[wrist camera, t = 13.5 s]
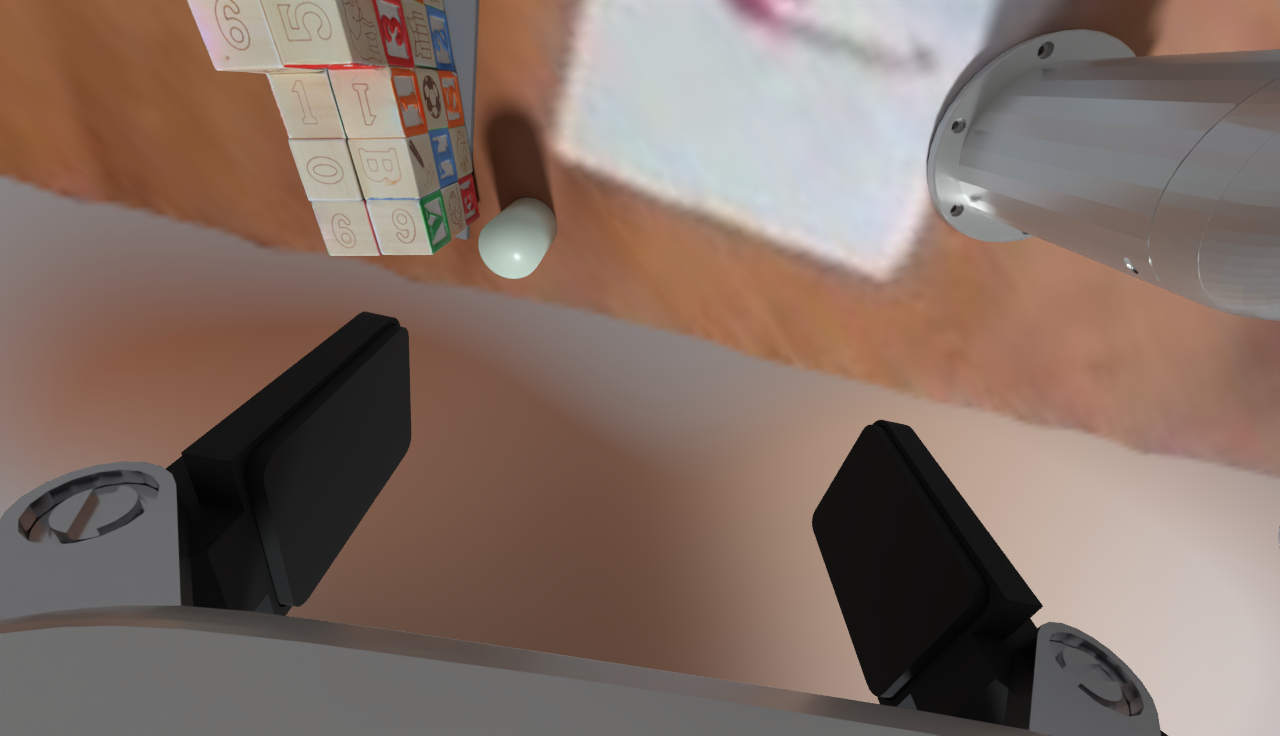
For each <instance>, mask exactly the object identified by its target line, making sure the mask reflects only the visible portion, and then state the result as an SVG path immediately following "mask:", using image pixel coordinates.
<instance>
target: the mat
mask: <svg viewBox="0 0 1280 736" xmlns="http://www.w3.org/2000/svg"><path fill="white" fill-rule="evenodd" d="M443 5H444V13H445V16H446V20H447V26H448V32H449V38H450V44H451V50H452V56H453V61H454V68H455V73H456V74H457V78H458V85H459V90H460V96H461V103H462V109H463V115H464V126H465V128H466V134H467V139H468V145H469V151H470V157H471V163H472V158H473V134H474V110H475V86H476V62H477V38H478V14H479V0H443ZM471 174H472V173H471ZM469 230H470V225H468V226H466V228H465V229H464V230H463V231H461V232H460V233H459V234H457V235H456V236H454V237H457V238H461V239H465V240H467V239H468V238H469Z"/></svg>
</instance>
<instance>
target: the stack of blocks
mask: <svg viewBox="0 0 1280 736" xmlns="http://www.w3.org/2000/svg"><path fill="white" fill-rule="evenodd" d="M187 1H188V4H189V6H190V9H191V11H192V14H193V16H194V18H195V21H196V23H197V26H198V28H199V31H200V33H201V36H202V38H203V41H204V43H205V45H206V48H207V50H208V52H209V55H210V57H211V60H212V62H213V65H214V67H215V68H216V70H217V71H238V72H253V73H266V75H267V78H268V81H269V84H270V87H271V90H272V93H273V95H274V98H275V101H276V104H277V107H278V110H279V112H280V115H281V118H282V121H283V124H284V127H285V130H286V132H287V135H288V137H289V140H288V142H289V146H290V148H291V151H292V154H293V157H294V160H295V163H296V166H297V169H298V171H299V174H300V177H301V180H302V183H303V186H304V188H305V191H306V194H307V197H308V199H309V201H311V202H312V207H313V210H314V213H315V216H316V219H317V222H318V224H319V227H320V230H321V234H322V236H323V239H324V242H325V245H326V248H327V251H328V253H329V255H330V256H379V255H382V254H384V255H432V254H434V253H436V252H437V251H438V250H440V249H441V248H442V247H443V246H445V245H446V244H447V243H449V242H450V241H451V238H453V237H454V236H456V235H457V234H459V233H460V232H461V231H463V230H464V229H465V228H466V226H468V225H470V224H471V223H473V222H474V221H475V220H477V219H478V218H479V217H480V214H479V209H478V204H477V198H476V193H475V187H474V182H473V176H472V174H471V173H472V171H473V169H472V163H471V157H470V151H469V145H468V139H467V134H466V128H465V126H464V115H463V109H462V103H461V96H460V90H459V85H458V78H457V74H456V73H455V68H454V61H453V56H452V50H451V44H450V38H449V32H448V26H447V20H446V16H445V13H444V5H443V0H187Z"/></svg>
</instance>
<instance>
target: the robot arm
mask: <svg viewBox="0 0 1280 736" xmlns="http://www.w3.org/2000/svg"><path fill="white" fill-rule="evenodd" d="M1038 50H1039V53H1038ZM954 122H955V126H954V127H953V128H952V125H953V123H954ZM927 170H928V188H929V192H930V197H931V200H932V202H933V204H934V206H935V208H936V210H937V212H938V214H939V215H940V216H941V217H942V218H943V219H944V221H945V222H946V223H947V224H948V225H950V226H951V227H953V228H954V229H956V230H957V231H958V232H960V233H963V234H965V235H967V236H969V237H971V238H974V239H978V240H982V241H986V242H1011V241H1018V240H1024V239H1027V238H1030V237H1033V236H1035V237H1038V238H1040V239H1043V240H1045V241H1048V242H1050V243H1052V244H1055V245H1057V246H1060V247H1062V248H1065V249H1067V250H1070V251H1072V252H1075V253H1077V254H1079V255H1082V256H1084V257H1087V258H1089V259H1092V260H1094V261H1097V262H1099V263H1102V264H1104V265H1107V266H1109V267H1111V268H1114V269H1116V270H1119V271H1121V272H1124V273H1126V274H1129V275H1131V276H1134V277H1136V278H1138V279H1141V280H1143V281H1146V282H1148V283H1151V284H1153V285H1156V286H1158V287H1161V288H1163V289H1165V290H1168V291H1170V292H1173V293H1175V294H1178V295H1180V296H1182V297H1184V298H1187V299H1189V300H1192V301H1194V302H1197V303H1199V304H1202V305H1204V306H1207V307H1209V308H1212V309H1215V310H1219V311H1222V312H1225V313H1229V314H1233V315H1237V316H1243V317H1247V318H1254V319H1263V320H1276V321H1280V49H1275V50H1256V51H1237V52H1218V53H1199V54H1180V55H1161V56H1143V57H1136V55H1135V53H1134V52H1133V51H1132V50H1131V49H1130V48H1129V47H1128V46H1127V45H1126V44H1125V43H1123V42H1122V41H1121V40H1120V39H1118V38H1115V37H1113V36H1111V35H1109V34H1107V33H1105V32H1100V31H1094V30H1087V29H1078V30H1064V31H1058V32H1053V33H1047V34H1042V35H1039V36H1037V37H1034V38H1032V39H1029V40H1026V41H1024V42H1021V43H1019V44H1017V45H1016V46H1014V47H1012V48H1010V49H1009V50H1007V51H1005V52H1003V53H1002V54H1000V55H999V56H997V57H996V58H995V59H993V60H992V61H991V62H990V63H988V64H987V65H986V66H984V67H983V68H982V69H981V70H980V71H979V72H978V73H977V74H976V75H975V76H974V77H973V78H972V79H971V80H970V81H969V82H968V83H967V84H966V85H965V86H964V87H963V88H962V90H961V91H960V92H959V94H958V95H957V96H956V98H955V99H954V100H953V102H952V103H951V105H950V106H949V107H948V109H947V111H946V113H945V115H944V117H943V119H942V120H941V122H940V124H939V126H938V128H937V131H936V134H935V137H934V140H933V142H932V145H931V149H930V155H929V160H928V166H927ZM952 207H953V209H952V210H951V208H952ZM410 407H411V406H410V369H409V335H408V331H407V329H406V328H404V327H400V324H399V321H398V320H397V319H396V318H393V317H388V316H384V315H379V314H374V313H369V312H362V313H360V314H359V315H357V316H356V317H355V318H353V319H352V320H351V321H350V322H348V323H347V324H346V325H344V326H343V327H342V328H341V329H339V330H338V331H337V332H335V333H334V334H333V335H332V336H330V337H329V338H328V339H326V340H325V341H324V342H323V343H321V344H320V345H319V346H318V347H316V348H315V349H314V350H313V351H311V352H310V353H308V354H307V355H306V356H305V357H303V358H302V359H301V360H300V361H298V362H297V363H296V364H294V365H293V366H292V367H290V368H289V369H288V370H287V371H285V372H284V373H283V374H282V375H280V376H279V377H278V378H276V379H275V380H274V381H273V382H272V383H270V384H269V385H267V386H266V387H265V388H263V389H262V390H261V391H260V392H259V393H257V394H256V395H255V396H253V397H252V398H251V399H249V400H248V401H247V402H246V403H244V404H243V405H242V406H241V407H239V408H238V409H237V410H235V411H234V412H233V413H231V414H230V415H229V416H228V417H226V418H225V419H224V420H222V421H221V422H220V423H219V424H218V425H216V426H215V427H213V428H212V429H211V430H210V431H208V432H207V433H206V434H204V435H203V436H202V437H201V438H199V439H198V440H197V441H195V442H194V443H193V444H192V445H191V446H189V447H188V448H187V449H185V450H184V451H183V452H182V456H181V457H180V458H179V459H178V460H176V461H175V462H174V463H172V464H171V465H170V466H169V467H167V468H166V469H164V468H163V467H161V466H158V465H154V464H150V463H146V462H116V463H109V464H102V465H96V466H92V467H89V468H85V469H81V470H77V471H74V472H70V473H68V474H66V475H63V476H61V477H58V478H56V479H53V480H51V481H49V482H46V483H44V484H42V485H41V486H39V487H37V488H36V489H34V490H32V491H30V492H29V493H27V494H25V495H24V496H22V497H21V498H20V499H19V500H18V501H16V502H15V503H14V504H13V505H12V506H11V507H10V508H8V509H7V510H6V511H5V512H4V514H3V516H2V517H1V519H0V736H1168V735H1166V734H1165V733H1164V732H1162V731H1161V730H1160V725H1159V719H1158V713H1157V710H1156V707H1155V704H1154V702H1153V699H1152V697H1151V696H1150V694H1149V692H1148V691H1147V689H1146V688H1145V686H1144V685H1143V683H1142V682H1141V681H1140V680H1139V678H1138V677H1137V676H1136V675H1135V674H1134V673H1133V672H1132V670H1131V669H1130V668H1129V667H1128V666H1127V665H1126V664H1125V663H1124V662H1123V661H1122V660H1121V659H1120V658H1118V657H1117V656H1116V655H1115V654H1114V653H1113V652H1112V651H1111V650H1109V649H1108V648H1107V647H1105V646H1104V645H1102V644H1101V643H1100V642H1098V641H1097V640H1096V639H1094V638H1093V637H1091V636H1089V635H1087V634H1085V633H1084V632H1082V631H1080V630H1078V629H1076V628H1073V627H1071V626H1068V625H1065V624H1062V623H1055V622H1048V623H1046V624H1043V625H1041V626H1040V627H1039V628H1038V629H1037V627H1036V626H1035V625H1034V623H1033V622H1032V620H1031V619H1030V618H1031V617H1032V616H1033V615H1034V614H1035V613H1036V612H1037V611H1038V610H1039V609H1041V607H1043V606H1042V604H1041V603H1040V601H1039V600H1038V599H1037V597H1036V596H1035V595H1034V594H1033V592H1032V591H1031V589H1030V588H1029V587H1028V585H1027V584H1026V582H1025V581H1024V580H1023V578H1022V577H1021V576H1020V574H1019V573H1018V572H1017V570H1016V569H1015V568H1014V566H1013V565H1012V564H1011V562H1010V561H1009V559H1008V558H1007V557H1006V555H1005V554H1004V553H1003V551H1002V550H1001V549H1000V547H999V546H998V545H997V543H996V542H995V540H994V539H993V538H992V536H991V535H990V534H989V532H988V531H987V530H986V528H985V527H984V526H983V524H982V523H981V522H980V520H979V519H978V517H977V516H976V515H975V513H974V512H973V511H972V509H971V508H970V507H969V505H968V504H967V502H966V501H965V500H964V498H963V497H962V496H961V495H960V493H959V492H958V490H957V489H956V488H955V486H954V485H953V484H952V482H951V481H950V479H949V478H948V477H947V475H946V474H945V473H944V471H943V470H942V469H941V467H940V466H939V465H938V463H937V462H936V461H935V459H934V458H933V457H932V455H931V454H930V452H929V451H928V450H927V448H926V447H925V446H924V444H923V443H922V441H921V440H920V439H919V437H918V436H917V435H916V433H915V432H914V431H913V429H912V428H911V427H910V426H907V425H904V424H899V423H894V422H889V421H885V420H878V421H876V422H875V423H873V425H868V426H866V427H865V428H864V430H863V431H862V433H861V434H860V436H859V438H858V440H857V441H856V443H855V444H854V446H853V448H852V449H851V451H850V453H849V454H848V456H847V458H846V459H845V461H844V463H843V465H842V466H841V468H840V470H839V471H838V473H837V475H836V476H835V478H834V480H833V481H832V483H831V485H830V486H829V488H828V490H827V491H826V493H825V495H824V496H823V498H822V500H821V502H820V503H819V505H818V507H817V508H816V510H815V512H814V514H813V518H812V527H813V531H814V534H815V537H816V540H817V542H818V545H819V548H820V551H821V554H822V557H823V560H824V562H825V565H826V568H827V571H828V574H829V577H830V580H831V582H832V585H833V588H834V591H835V594H836V597H837V600H838V602H839V605H840V608H841V611H842V614H843V617H844V620H845V623H846V625H847V628H848V631H849V634H850V637H851V639H852V643H853V645H854V648H855V651H856V654H857V657H858V660H859V663H860V665H861V668H862V671H863V674H864V677H865V680H866V683H867V685H868V687H869V689H870V691H871V692H872V693H873V694H874V695H875V696H877V697H878V700H879V703H880V704H874V703H867V702H861V701H855V700H848V699H842V698H836V697H830V696H823V695H817V694H810V693H805V692H798V691H792V690H786V689H779V688H773V687H766V686H760V685H754V684H747V683H741V682H734V681H728V680H721V679H714V678H708V677H702V676H694V675H689V674H682V673H676V672H669V671H663V670H656V669H650V668H643V667H636V666H630V665H623V664H617V663H610V662H603V661H597V660H590V659H584V658H577V657H571V656H564V655H557V654H551V653H544V652H537V651H530V650H523V649H517V648H510V647H503V646H496V645H490V644H483V643H476V642H469V641H463V640H456V639H449V638H442V637H435V636H428V635H422V634H415V633H408V632H401V631H395V630H388V629H381V628H374V627H366V626H359V625H350V624H343V623H336V622H328V621H320V620H312V619H304V618H297V617H289V616H286V614H287V613H288V611H289V610H290V608H291V607H292V606H296V607H299V606H301V605H302V604H304V603H305V602H306V601H307V599H308V598H309V597H310V595H311V594H312V592H313V591H314V589H315V588H316V586H317V585H318V583H319V582H320V580H321V579H322V577H323V576H324V575H325V573H326V572H327V570H328V569H329V567H330V566H331V564H332V563H333V561H334V559H335V558H336V557H337V555H338V554H339V552H340V551H341V549H342V548H343V546H344V545H345V543H346V542H347V540H348V539H349V537H350V536H351V534H352V533H353V532H354V530H355V529H356V527H357V526H358V524H359V523H360V521H361V520H362V518H363V516H364V515H365V514H366V512H367V511H368V509H369V508H370V506H371V505H372V503H373V502H374V500H375V499H376V497H377V496H378V494H379V493H380V491H381V490H382V488H383V487H384V486H385V484H386V482H387V481H388V480H389V478H390V477H391V475H392V474H393V472H394V471H395V469H396V468H397V466H398V465H399V463H400V462H401V460H402V459H403V457H404V456H405V454H406V453H407V450H408V448H409V445H410V441H411V409H410ZM1278 537H1279V547H1280V527H1279V536H1278Z"/></svg>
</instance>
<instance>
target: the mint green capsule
mask: <svg viewBox="0 0 1280 736" xmlns="http://www.w3.org/2000/svg"><path fill="white" fill-rule="evenodd" d="M556 234H557V221H556V218H555V216H554V214H553V212H552V210H551V209H550V208H549V207H548V206H547V205H546V204H545V203H543V202H542V201H540V200H538V199H534V198H520V199H518V200H516V201H514V202H513V203H511V204H510V205H509V206H508V207H507V208H506V209H504V210H503V211H502V212H501V213H500V214H498V215H497V216H496V217H495V218H494V219H492V220H491V221H490V222H489V223H488V224H486V225H485V227H484V228H483V229H482V231H481V233H480V236H479V251H480V255H481V257H482V259H483V261H484V262H485V264H486V265H487V266H488V267H489V268H490V269H491V270H492V271H493V272H495V273H496V274H498V275H500V276H502V277H506V278H511V279H517V278H523V277H525V276H527V275H529V274H531V273H532V272H533V271H534V270H535V269H536V267H537V266H538V264H539V263H540V261H541V260H542V258H543V256H544V255H545V253H546V252H547V250H548V249H549V247H550V246H551V244H552V243H553V241H554V239H555V237H556Z"/></svg>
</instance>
